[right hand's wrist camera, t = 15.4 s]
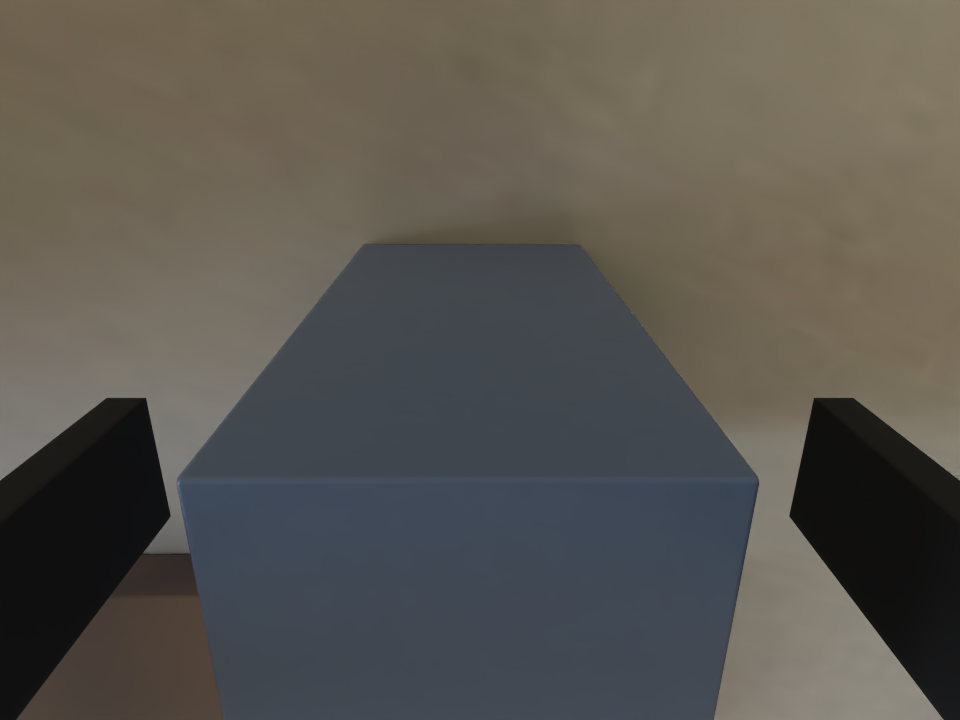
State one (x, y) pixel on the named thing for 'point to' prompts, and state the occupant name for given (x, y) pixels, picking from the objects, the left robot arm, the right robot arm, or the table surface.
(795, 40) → the table surface
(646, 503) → the slate block
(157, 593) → the walnut caddy
